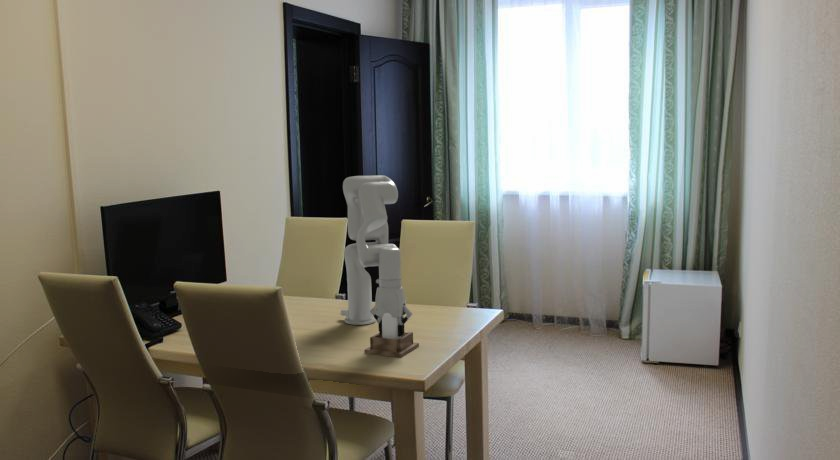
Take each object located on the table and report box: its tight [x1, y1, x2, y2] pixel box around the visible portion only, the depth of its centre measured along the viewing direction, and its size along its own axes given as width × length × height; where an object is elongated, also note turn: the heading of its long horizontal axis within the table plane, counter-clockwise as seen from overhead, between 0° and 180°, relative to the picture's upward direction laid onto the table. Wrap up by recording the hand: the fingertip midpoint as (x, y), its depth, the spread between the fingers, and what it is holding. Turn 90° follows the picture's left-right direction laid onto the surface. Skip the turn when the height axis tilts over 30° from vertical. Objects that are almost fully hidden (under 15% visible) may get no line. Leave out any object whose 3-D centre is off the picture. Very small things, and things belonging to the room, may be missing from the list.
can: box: [382, 313, 401, 339], centre depth 254 cm, size 6×6×12 cm
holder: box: [364, 331, 420, 358], centre depth 255 cm, size 14×14×5 cm
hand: (391, 334), depth 255 cm, fingers closed on can, 6 cm apart
